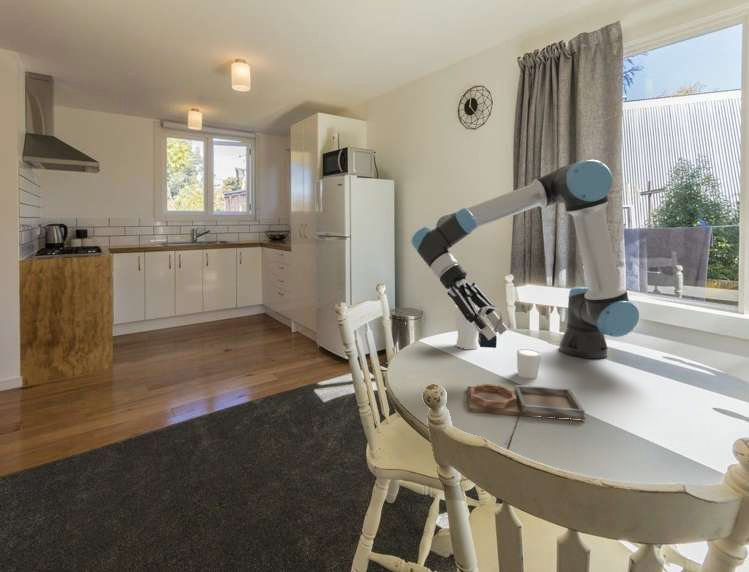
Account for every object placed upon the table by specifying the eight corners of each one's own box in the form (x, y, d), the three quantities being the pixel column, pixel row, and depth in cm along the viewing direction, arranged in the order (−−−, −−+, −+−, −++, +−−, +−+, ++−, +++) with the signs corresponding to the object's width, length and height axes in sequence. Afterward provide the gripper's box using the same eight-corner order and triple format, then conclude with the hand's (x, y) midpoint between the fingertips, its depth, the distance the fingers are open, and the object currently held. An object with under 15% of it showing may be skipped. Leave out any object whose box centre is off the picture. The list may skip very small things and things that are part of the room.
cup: (485, 351, 146) (487, 309, 143) (454, 350, 146) (456, 309, 143) (478, 342, 156) (480, 303, 154) (450, 342, 156) (451, 303, 154)
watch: (471, 341, 121) (472, 304, 119) (499, 342, 120) (501, 305, 118) (473, 346, 115) (474, 308, 114) (502, 348, 114) (505, 309, 113)
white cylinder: (537, 380, 119) (538, 357, 118) (512, 376, 122) (514, 353, 121) (541, 373, 125) (543, 351, 124) (518, 369, 128) (519, 347, 127)
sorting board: (569, 398, 108) (570, 388, 107) (584, 421, 95) (585, 411, 95) (467, 389, 112) (467, 381, 112) (469, 411, 100) (469, 401, 99)
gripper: (457, 276, 132) (503, 334, 124) (422, 283, 117) (472, 350, 109) (473, 260, 128) (522, 320, 120) (439, 266, 113) (492, 334, 105)
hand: (498, 334), depth 115 cm, fingers closed on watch, 7 cm apart
